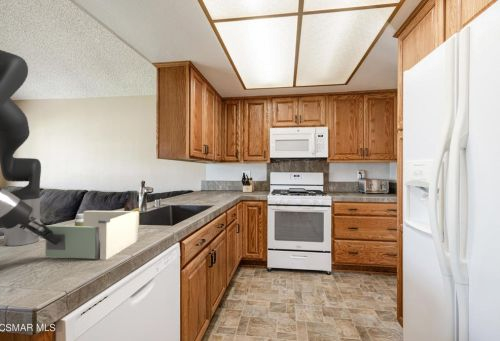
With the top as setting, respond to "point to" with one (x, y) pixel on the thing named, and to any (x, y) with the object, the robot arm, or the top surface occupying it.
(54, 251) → the door
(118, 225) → the cabinet frame
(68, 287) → the top surface
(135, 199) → the sauce bottle
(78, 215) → the supplement bottle
